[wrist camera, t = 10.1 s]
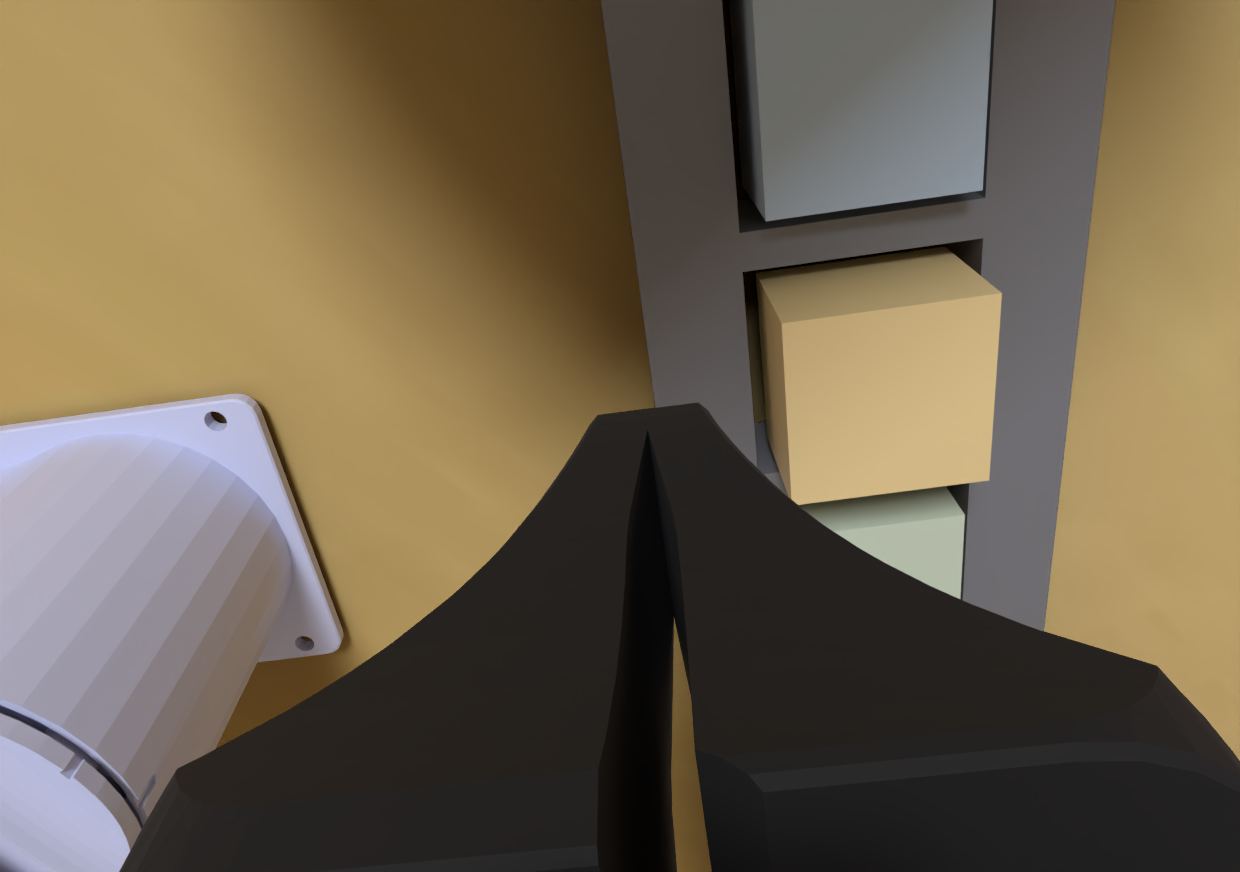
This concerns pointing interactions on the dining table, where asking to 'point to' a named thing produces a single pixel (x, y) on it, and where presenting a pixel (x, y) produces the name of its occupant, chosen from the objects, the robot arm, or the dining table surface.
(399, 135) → the dining table surface
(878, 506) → the key sage
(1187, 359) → the dining table surface
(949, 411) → the key ochre
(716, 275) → the keypad board
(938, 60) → the key blue
